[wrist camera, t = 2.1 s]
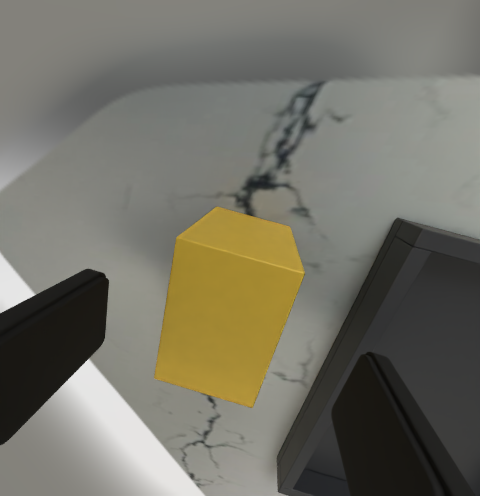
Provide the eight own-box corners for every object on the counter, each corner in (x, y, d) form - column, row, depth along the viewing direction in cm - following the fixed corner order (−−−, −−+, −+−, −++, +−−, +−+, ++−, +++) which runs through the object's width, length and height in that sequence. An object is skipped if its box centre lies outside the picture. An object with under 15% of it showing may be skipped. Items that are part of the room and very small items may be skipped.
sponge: (196, 301, 14) (153, 379, 9) (216, 206, 12) (175, 236, 7) (259, 319, 14) (252, 409, 9) (290, 226, 12) (305, 273, 7)
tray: (396, 217, 11) (422, 228, 9) (705, 300, 11) (801, 330, 9) (276, 457, 18) (277, 492, 16) (463, 514, 18) (487, 558, 16)
